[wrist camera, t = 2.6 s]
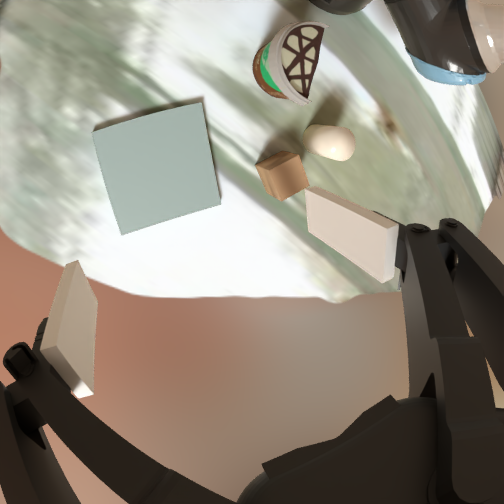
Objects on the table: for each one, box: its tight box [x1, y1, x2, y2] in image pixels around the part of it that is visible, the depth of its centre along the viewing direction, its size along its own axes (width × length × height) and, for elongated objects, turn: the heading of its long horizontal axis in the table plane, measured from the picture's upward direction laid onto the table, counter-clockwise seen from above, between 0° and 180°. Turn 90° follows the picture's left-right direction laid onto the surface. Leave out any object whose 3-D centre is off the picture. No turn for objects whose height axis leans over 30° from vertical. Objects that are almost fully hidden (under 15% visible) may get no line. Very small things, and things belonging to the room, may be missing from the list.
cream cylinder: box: [303, 124, 355, 161], centre depth 42 cm, size 5×5×7 cm
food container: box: [253, 21, 330, 106], centre depth 32 cm, size 12×6×10 cm, turn 165°
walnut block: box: [255, 151, 310, 201], centre depth 43 cm, size 5×5×5 cm
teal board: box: [92, 102, 221, 235], centre depth 37 cm, size 15×15×1 cm
